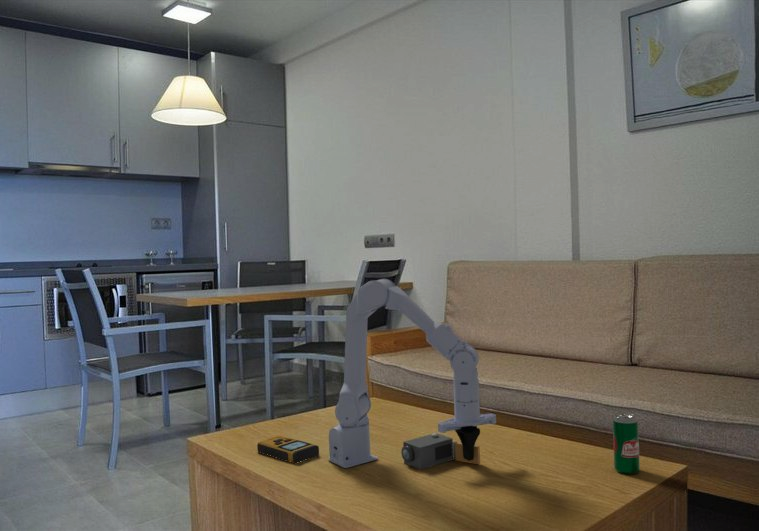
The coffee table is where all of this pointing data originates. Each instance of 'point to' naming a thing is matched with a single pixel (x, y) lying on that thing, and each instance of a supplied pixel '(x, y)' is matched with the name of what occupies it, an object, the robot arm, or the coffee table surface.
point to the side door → (459, 453)
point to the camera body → (427, 451)
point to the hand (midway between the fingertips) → (468, 459)
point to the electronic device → (288, 449)
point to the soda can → (626, 443)
